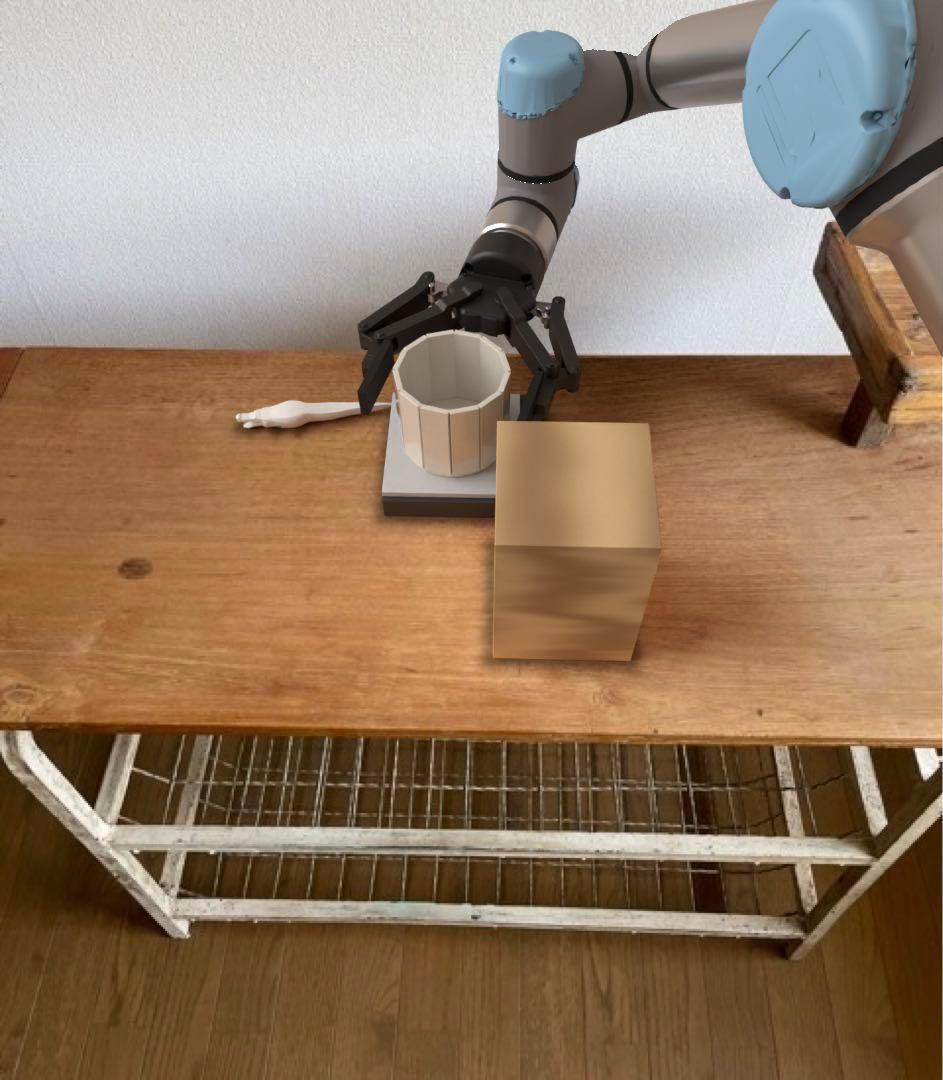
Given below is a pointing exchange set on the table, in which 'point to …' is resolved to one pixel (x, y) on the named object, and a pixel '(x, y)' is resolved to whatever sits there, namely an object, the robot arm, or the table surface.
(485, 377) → the pot
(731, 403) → the table surface
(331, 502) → the table surface
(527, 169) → the robot arm
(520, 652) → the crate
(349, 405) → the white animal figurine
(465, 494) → the scale
